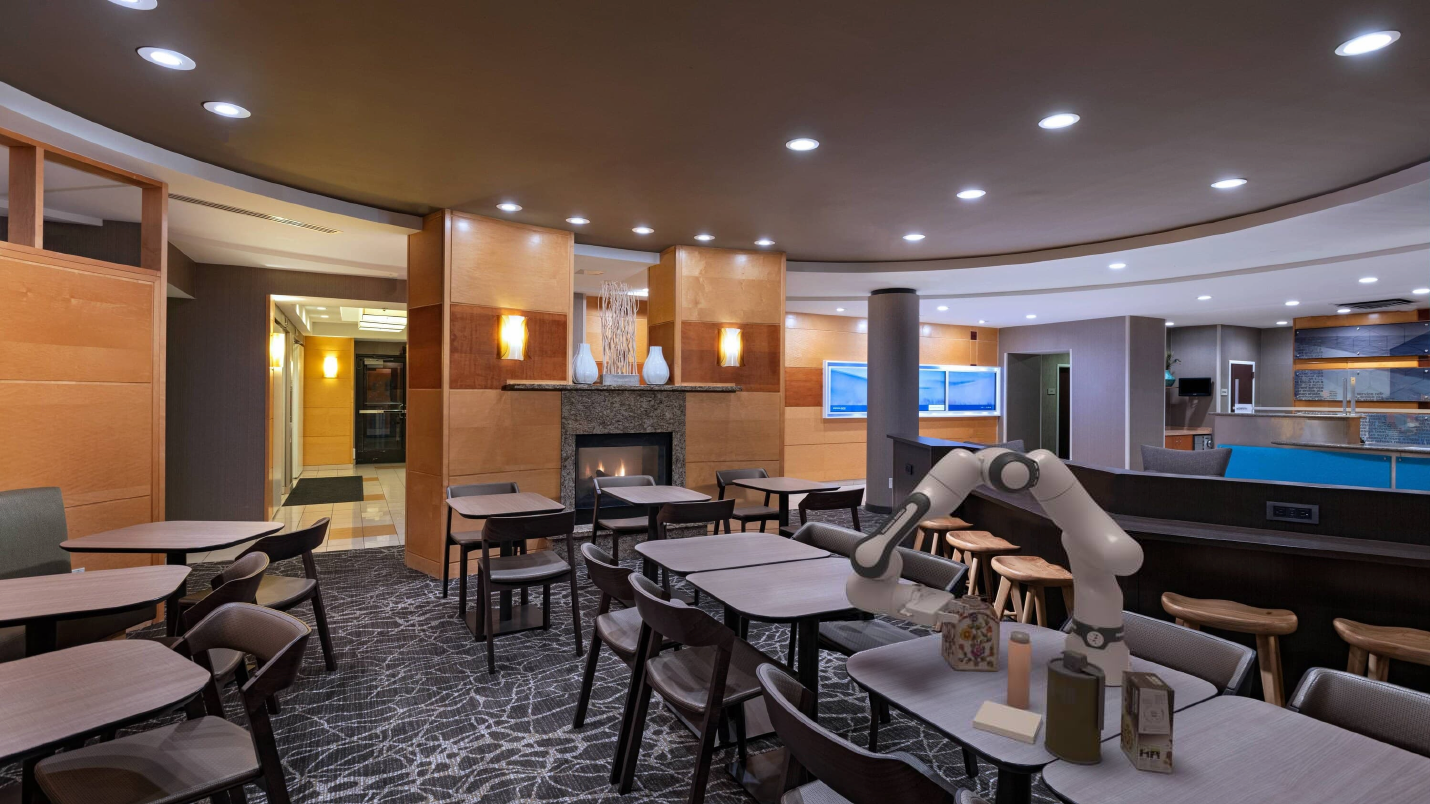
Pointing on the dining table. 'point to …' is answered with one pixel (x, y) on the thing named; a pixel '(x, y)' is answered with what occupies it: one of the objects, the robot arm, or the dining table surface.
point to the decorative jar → (972, 637)
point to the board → (1008, 721)
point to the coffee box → (1147, 721)
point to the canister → (1075, 708)
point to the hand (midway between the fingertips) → (963, 614)
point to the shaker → (1019, 670)
